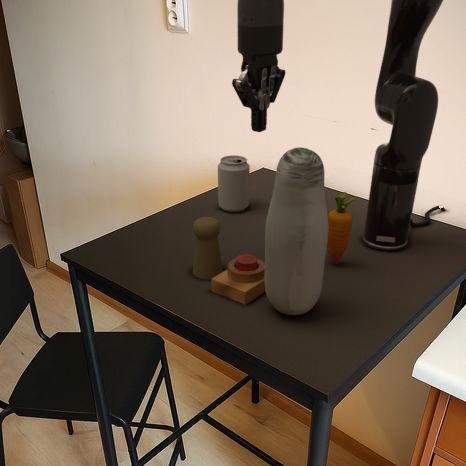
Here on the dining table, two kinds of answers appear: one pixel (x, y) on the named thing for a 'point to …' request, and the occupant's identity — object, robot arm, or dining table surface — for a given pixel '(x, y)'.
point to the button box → (240, 282)
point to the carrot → (339, 228)
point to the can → (233, 183)
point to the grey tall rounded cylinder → (296, 233)
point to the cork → (207, 248)
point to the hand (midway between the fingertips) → (258, 130)
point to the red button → (246, 262)
